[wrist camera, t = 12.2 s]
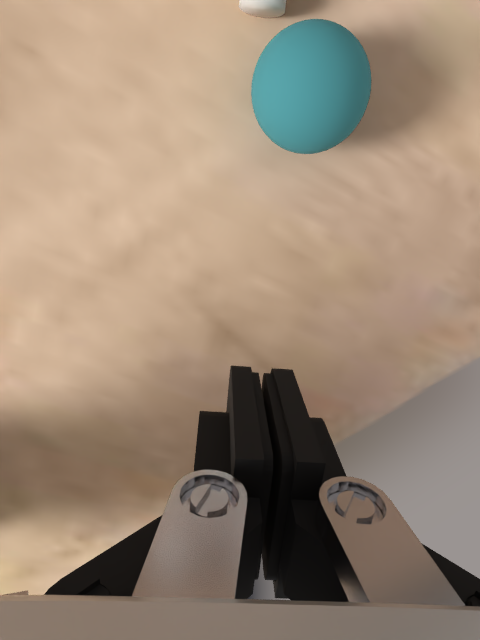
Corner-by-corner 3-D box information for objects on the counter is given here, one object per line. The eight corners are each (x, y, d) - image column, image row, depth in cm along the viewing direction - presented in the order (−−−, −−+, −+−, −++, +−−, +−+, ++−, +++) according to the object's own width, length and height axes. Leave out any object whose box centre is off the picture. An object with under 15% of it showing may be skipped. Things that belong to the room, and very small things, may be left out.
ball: (354, 36, 23) (296, 136, 27) (271, -23, 20) (216, 101, 23) (419, 78, 20) (343, 188, 23) (331, 16, 16) (257, 155, 20)
